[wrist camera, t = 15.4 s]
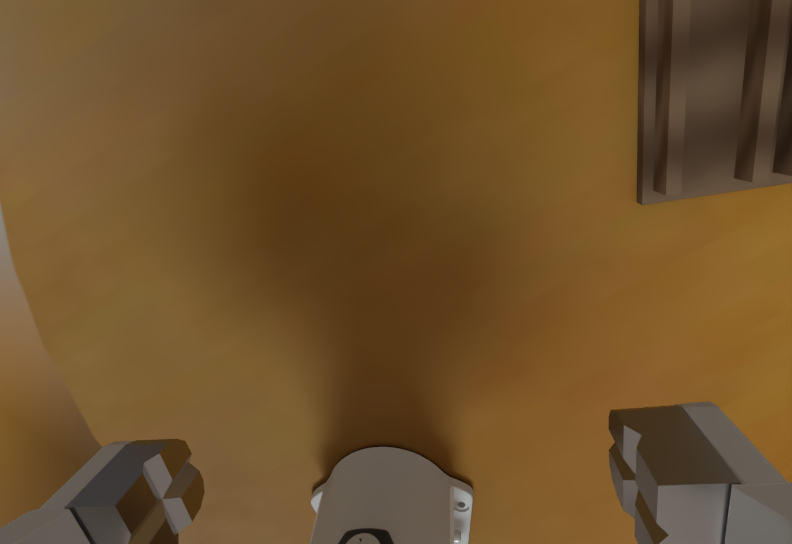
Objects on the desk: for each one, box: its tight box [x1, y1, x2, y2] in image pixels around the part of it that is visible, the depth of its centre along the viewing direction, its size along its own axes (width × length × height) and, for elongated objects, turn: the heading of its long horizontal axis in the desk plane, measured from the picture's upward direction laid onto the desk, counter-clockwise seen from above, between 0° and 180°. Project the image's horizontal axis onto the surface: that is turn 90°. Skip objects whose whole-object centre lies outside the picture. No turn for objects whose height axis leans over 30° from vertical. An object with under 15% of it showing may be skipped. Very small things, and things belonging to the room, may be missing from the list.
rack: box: [637, 0, 792, 205], centre depth 27 cm, size 20×16×3 cm
